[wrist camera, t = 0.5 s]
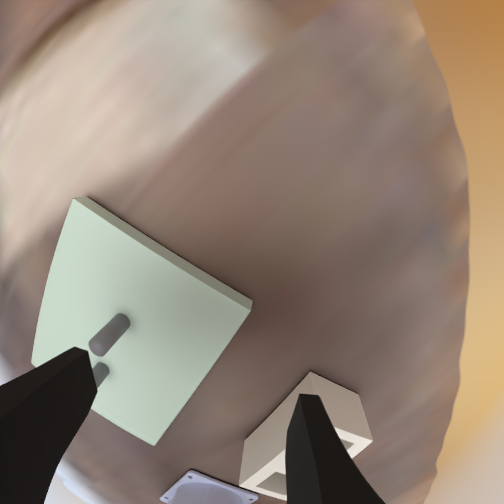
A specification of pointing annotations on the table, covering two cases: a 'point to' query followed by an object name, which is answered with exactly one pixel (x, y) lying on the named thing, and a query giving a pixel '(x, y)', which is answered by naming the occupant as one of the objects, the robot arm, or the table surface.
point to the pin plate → (133, 318)
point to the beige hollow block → (275, 431)
